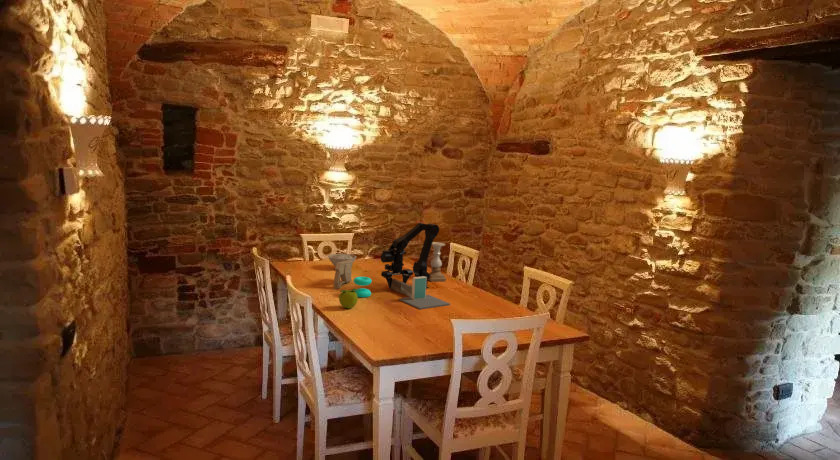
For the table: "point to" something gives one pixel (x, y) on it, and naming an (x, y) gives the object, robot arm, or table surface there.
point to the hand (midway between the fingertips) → (396, 287)
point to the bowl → (341, 258)
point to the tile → (419, 287)
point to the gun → (342, 273)
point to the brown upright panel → (401, 287)
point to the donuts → (362, 282)
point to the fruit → (348, 298)
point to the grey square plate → (424, 302)
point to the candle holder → (436, 264)
